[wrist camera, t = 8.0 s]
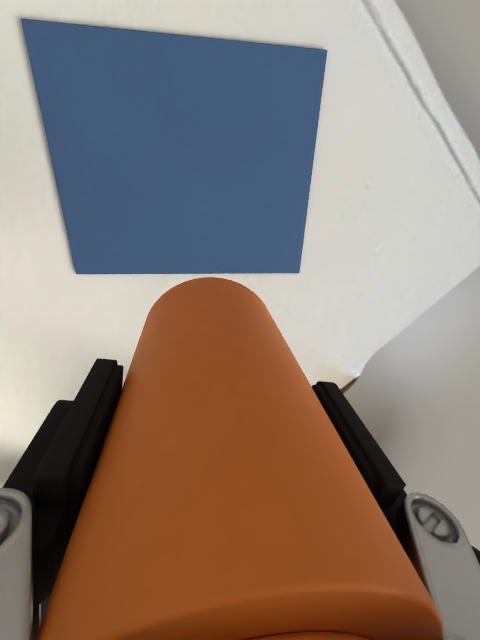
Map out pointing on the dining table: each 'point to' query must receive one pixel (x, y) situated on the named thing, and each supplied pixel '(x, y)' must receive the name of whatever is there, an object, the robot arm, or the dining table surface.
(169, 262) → the cloth
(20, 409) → the dining table surface
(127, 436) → the bottle
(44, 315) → the dining table surface
